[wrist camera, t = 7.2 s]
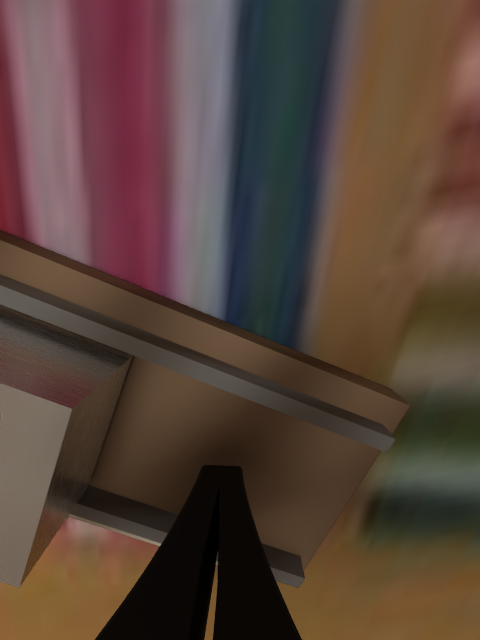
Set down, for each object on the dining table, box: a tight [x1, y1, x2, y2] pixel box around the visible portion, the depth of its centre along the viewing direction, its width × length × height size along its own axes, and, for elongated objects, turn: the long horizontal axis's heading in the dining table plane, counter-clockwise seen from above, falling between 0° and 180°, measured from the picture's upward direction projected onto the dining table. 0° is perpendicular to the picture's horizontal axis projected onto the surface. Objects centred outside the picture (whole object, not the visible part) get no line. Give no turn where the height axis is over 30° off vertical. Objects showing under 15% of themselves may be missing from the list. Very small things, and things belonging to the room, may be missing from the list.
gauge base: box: [0, 230, 410, 588], centre depth 8 cm, size 22×10×6 cm, turn 67°
